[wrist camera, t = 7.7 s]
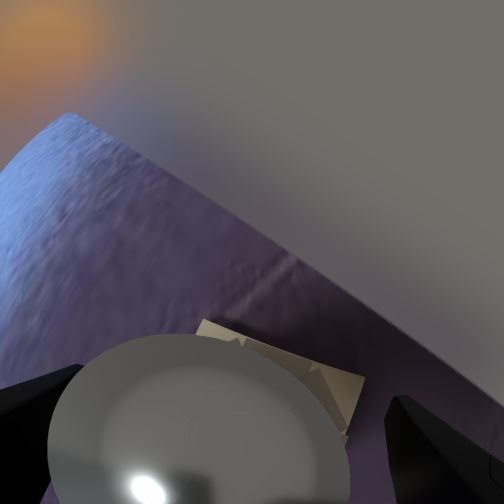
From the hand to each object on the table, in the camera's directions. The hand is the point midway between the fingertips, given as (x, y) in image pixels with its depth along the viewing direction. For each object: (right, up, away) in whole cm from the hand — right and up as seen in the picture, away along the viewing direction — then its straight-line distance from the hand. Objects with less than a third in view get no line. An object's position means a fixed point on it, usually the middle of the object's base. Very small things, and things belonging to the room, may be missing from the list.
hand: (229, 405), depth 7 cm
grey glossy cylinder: (0, -5, +6) cm, 8 cm away
